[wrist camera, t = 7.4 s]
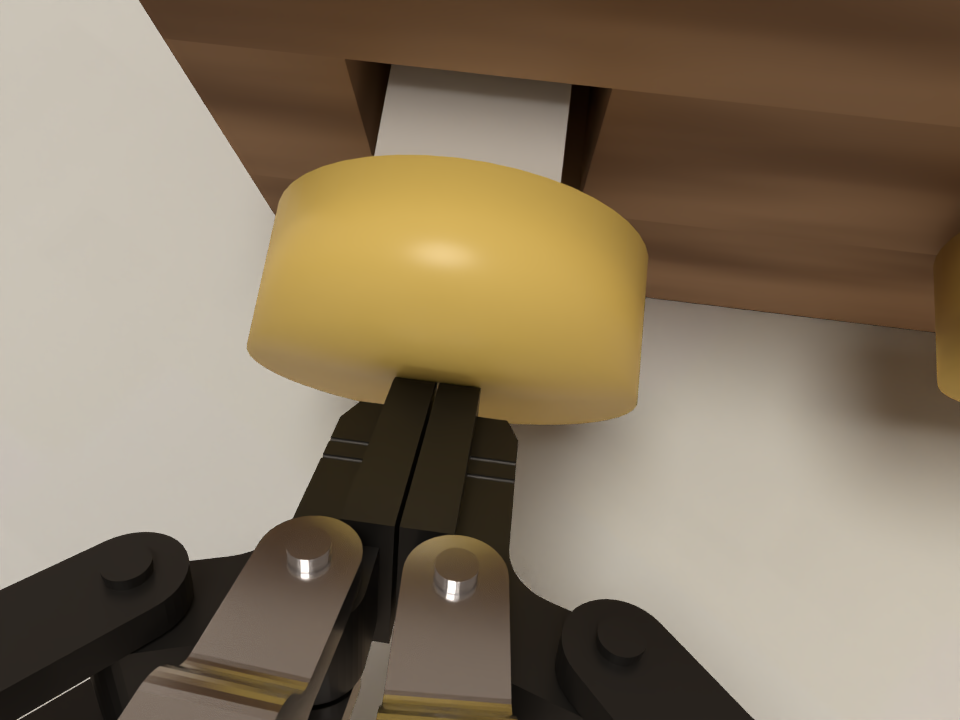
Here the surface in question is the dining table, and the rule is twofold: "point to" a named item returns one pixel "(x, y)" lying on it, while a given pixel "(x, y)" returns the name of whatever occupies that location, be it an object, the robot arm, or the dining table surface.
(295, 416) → the dining table surface
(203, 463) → the dining table surface
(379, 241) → the knob
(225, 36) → the block
